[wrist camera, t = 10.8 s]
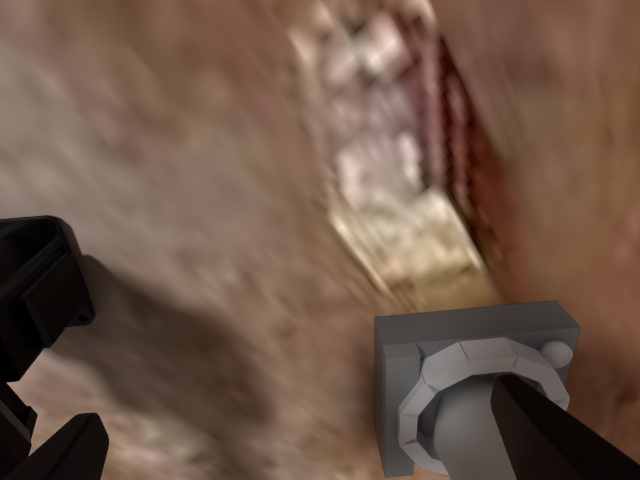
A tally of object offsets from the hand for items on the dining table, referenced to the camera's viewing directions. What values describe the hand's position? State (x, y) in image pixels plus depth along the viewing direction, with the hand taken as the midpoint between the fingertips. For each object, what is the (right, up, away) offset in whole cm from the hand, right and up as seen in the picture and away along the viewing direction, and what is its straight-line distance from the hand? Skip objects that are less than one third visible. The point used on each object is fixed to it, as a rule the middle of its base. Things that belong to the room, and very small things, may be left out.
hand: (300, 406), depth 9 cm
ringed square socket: (+10, -5, +18) cm, 21 cm away
